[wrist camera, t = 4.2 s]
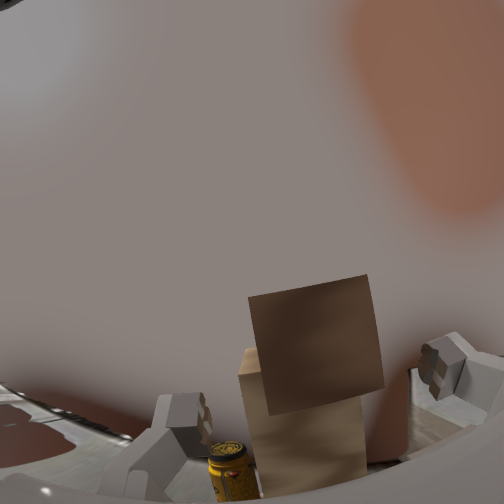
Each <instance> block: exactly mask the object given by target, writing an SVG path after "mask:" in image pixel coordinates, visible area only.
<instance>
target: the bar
mask: <svg viewBox="0 0 504 504" xmlns="http://www.w3.org/2000/svg"><path fill="white" fill-rule="evenodd" d="M248 301H249V307H250V312H251V318H252V324H253V330H254V334H255V340H256V347H257V352H258V358H259V363H260V369H261V375H262V380H263V386H264V391H265V396H266V402H267V407H268V413H269V416H274V415H280V414H287V413H293V412H297V411H302V410H307V409H311V408H316V407H320V406H324V405H328V404H332V403H336V402H340V401H344V400H348V399H351V398H355V397H358V396H362V395H365V394H367V393H370V392H373V391H377V390H380V389H383V388H385V386H384V377H383V368H382V360H381V353H380V345H379V339H378V332H377V326H376V320H375V314H374V308H373V303H372V297H371V292H370V287H369V282H368V277H367V274H366V275H361V276H356V277H352V278H347V279H342V280H337V281H332V282H327V283H322V284H317V285H312V286H307V287H302V288H297V289H291V290H286V291H281V292H276V293H269V294H264V295H258V296H252V297H248Z"/></svg>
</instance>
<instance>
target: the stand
mask: <svg viewBox="0 0 504 504" xmlns="http://www.w3.org/2000/svg"><path fill="white" fill-rule="evenodd" d="M238 377H239V382H240V387H241V392H242V397H243V403H244V407H245V413H246V418H247V422H248V427H249V432H250V436H251V442H252V446H253V451H254V455H255V460H256V465H257V469H258V474H259V478H260V483H261V487H262V491H263V496H264V499H265V498H272V497H279V496H285V495H291V494H297V493H302V492H307V491H312V490H317V489H321V488H325V487H329V486H333V485H337V484H341V483H345V482H348V481H352V480H355V479H358V478H362V477H365V476H367V465H366V451H365V437H364V426H363V415H362V405H361V396H358V397H355V398H351V399H348V400H344V401H340V402H336V403H332V404H328V405H324V406H320V407H316V408H311V409H307V410H302V411H297V412H293V413H287V414H280V415H274V416H269V413H268V407H267V402H266V396H265V391H264V386H263V380H262V375H261V369H260V363H259V358H258V352H257V347H255V348H248V349H246V351H245V354H244V358H243V361H242V364H241V368H240V371H239V374H238Z"/></svg>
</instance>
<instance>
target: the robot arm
mask: <svg viewBox="0 0 504 504" xmlns="http://www.w3.org/2000/svg"><path fill="white" fill-rule="evenodd" d="M21 1H23V0H0V11H3V10H6V9H8V8H10V7H12V6H14V5H16V4H17V3H19V2H21ZM421 353H422V354H423V356H422V357H421V359H420V360H419V363H418V373H419V376H420V379H421V380H422V381H423V383H425V384H427V385H429V391H430V393H431V394H432V395H433V397H434V398H435V399H436V401H438V400H441V399H443V398H445V397H448V396H450V395H452V394H454V395H455V396H457V397H459V398H461V399H463V400H465V401H467V402H469V403H471V404H473V405H475V406H477V407H479V408H481V409H483V410H485V411H487V412H488V414H487V416H486V417H485V419H484V422H483V423H482V424H480V425H479V426H477V427H475V428H474V429H472V430H470V431H468V432H467V433H465V434H463V435H461V436H459V437H458V438H456V439H454V440H452V441H450V442H448V443H446V444H444V445H442V446H440V447H438V448H436V449H434V450H432V451H429V452H427V453H425V454H423V455H421V456H418V457H416V458H414V459H411V460H409V461H406V462H404V463H401V464H399V465H396V466H394V467H391V468H388V469H385V470H383V471H380V472H377V473H374V474H371V475H368V476H365V477H362V478H358V479H355V480H352V481H348V482H345V483H341V484H337V485H333V486H329V487H325V488H321V489H317V490H312V491H307V492H302V493H297V494H291V495H285V496H279V497H272V498H265V499H256V500H247V501H234V502H216V503H174V502H173V501H172V500H171V499H170V498H169V497H168V496H167V494H166V493H165V492H164V490H165V489H166V488H167V486H168V485H169V484H170V483H171V481H172V480H173V479H174V477H175V476H176V475H177V473H178V472H179V471H180V469H181V468H182V467H183V465H184V464H185V463H186V461H187V460H188V457H204V456H212V440H211V438H210V436H209V435H210V434H211V433H212V418H211V414H210V411H209V408H208V407H206V406H205V398H204V395H203V393H201V392H199V393H183V394H167V395H160V396H159V398H158V401H157V405H156V410H155V414H154V418H153V422H152V427H151V428H147V429H146V430H145V431H144V432H143V433H142V434H141V435H140V436H139V437H137V438H136V439H135V440H134V441H133V442H132V443H131V444H130V445H129V446H127V447H126V448H125V449H124V450H123V451H122V452H121V453H120V454H118V455H117V456H116V457H115V458H114V459H113V460H112V461H111V462H109V463H108V464H107V465H106V466H105V469H104V472H103V476H102V479H101V483H100V486H99V490H98V494H95V493H90V492H85V491H80V490H76V489H72V488H68V487H64V486H60V485H56V484H53V483H49V482H46V481H43V480H39V479H36V478H33V477H30V476H28V475H25V474H22V473H12V474H10V475H8V476H6V477H5V478H3V479H1V480H0V504H504V358H501V357H498V356H494V355H491V354H487V353H484V352H479V353H478V352H477V351H476V350H475V349H474V348H473V347H472V346H471V345H470V344H469V343H468V342H467V341H465V340H464V339H463V338H462V337H461V336H460V335H459V334H458V333H457V332H452V333H450V334H447V335H445V336H443V337H440V338H437V339H435V340H432V341H429V342H427V343H424V344H423V346H422V349H421Z"/></svg>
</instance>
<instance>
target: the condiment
mask: <svg viewBox="0 0 504 504" xmlns="http://www.w3.org/2000/svg"><path fill="white" fill-rule="evenodd" d="M208 459H209V464H210V465H209V473H210V477H211V480H212V484H213V487H214V490H215V494H216V497H217V501H218V502H234V501H247V500H256V499H264V496H263V493H259V488H258V484H257V480H256V475H255V471H254V466H253V463H252V461H251V460H250V459H249V456H248V453H247V448H246V447H245V445H244V444H242V443H240V442H223V443H219V444H216V445H214V446H212V456H208Z"/></svg>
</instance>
